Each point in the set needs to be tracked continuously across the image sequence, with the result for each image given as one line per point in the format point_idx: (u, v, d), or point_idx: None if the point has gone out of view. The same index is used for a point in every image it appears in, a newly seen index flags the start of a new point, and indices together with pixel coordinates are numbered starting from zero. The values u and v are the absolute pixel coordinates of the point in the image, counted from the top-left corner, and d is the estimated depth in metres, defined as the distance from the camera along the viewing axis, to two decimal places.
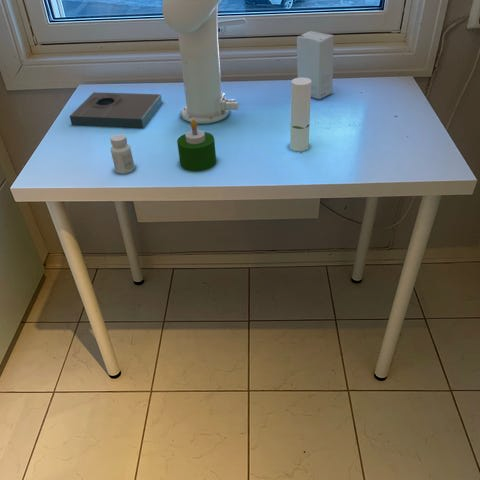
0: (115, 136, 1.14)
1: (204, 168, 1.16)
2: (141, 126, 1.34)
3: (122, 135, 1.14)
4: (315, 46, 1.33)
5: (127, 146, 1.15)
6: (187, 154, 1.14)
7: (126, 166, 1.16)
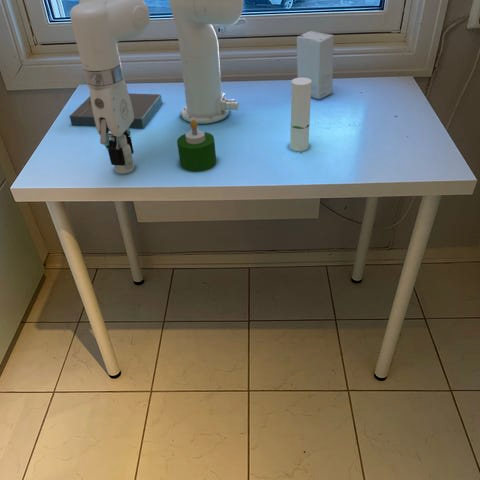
0: None
1: (204, 168, 1.16)
2: (141, 126, 1.34)
3: (122, 135, 1.14)
4: (315, 47, 1.33)
5: (127, 146, 1.15)
6: (187, 154, 1.14)
7: (126, 166, 1.16)
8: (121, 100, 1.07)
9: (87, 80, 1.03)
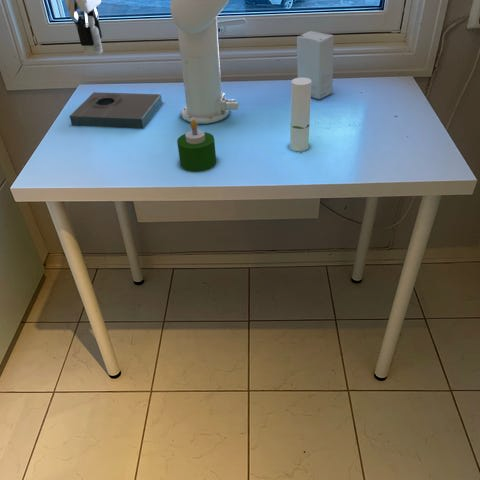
0: None
1: (204, 168, 1.16)
2: (141, 126, 1.34)
3: (90, 16, 1.23)
4: (315, 46, 1.33)
5: (95, 27, 1.23)
6: (187, 154, 1.14)
7: (95, 47, 1.25)
8: None
9: None
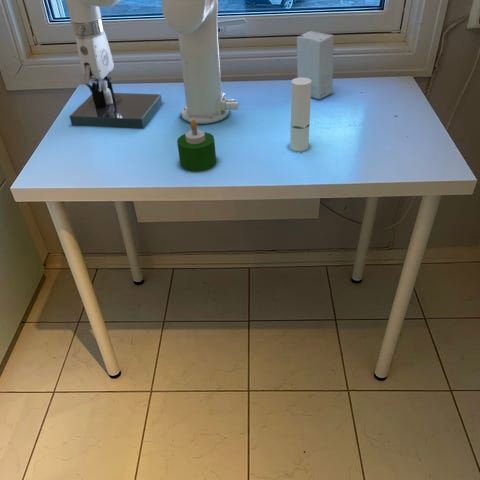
0: None
1: (204, 168, 1.16)
2: (141, 126, 1.34)
3: (103, 80, 1.39)
4: (315, 47, 1.33)
5: (108, 89, 1.39)
6: (187, 154, 1.14)
7: None
8: (102, 49, 1.32)
9: (74, 31, 1.27)
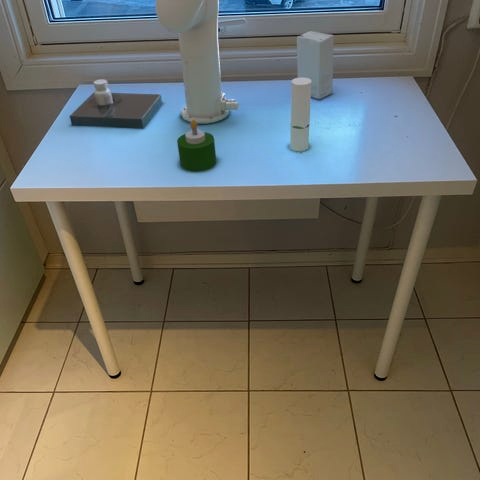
0: (98, 81, 1.38)
1: (204, 168, 1.16)
2: (141, 126, 1.34)
3: (103, 80, 1.39)
4: (315, 47, 1.33)
5: (108, 89, 1.39)
6: (187, 154, 1.14)
7: None
8: None
9: None
